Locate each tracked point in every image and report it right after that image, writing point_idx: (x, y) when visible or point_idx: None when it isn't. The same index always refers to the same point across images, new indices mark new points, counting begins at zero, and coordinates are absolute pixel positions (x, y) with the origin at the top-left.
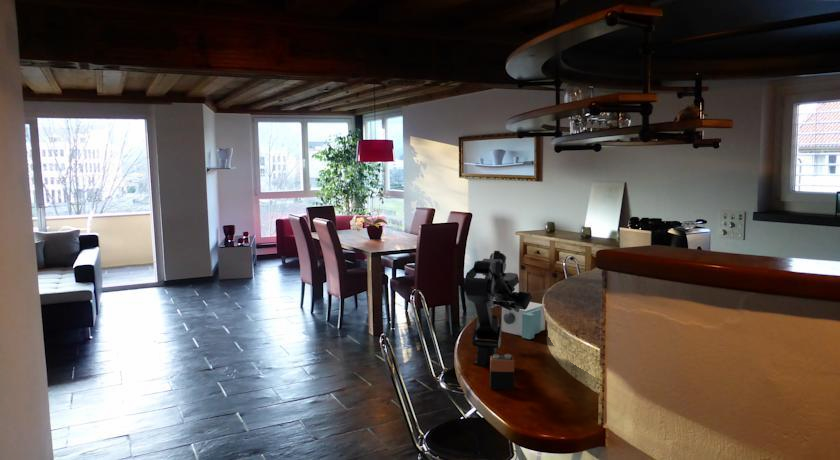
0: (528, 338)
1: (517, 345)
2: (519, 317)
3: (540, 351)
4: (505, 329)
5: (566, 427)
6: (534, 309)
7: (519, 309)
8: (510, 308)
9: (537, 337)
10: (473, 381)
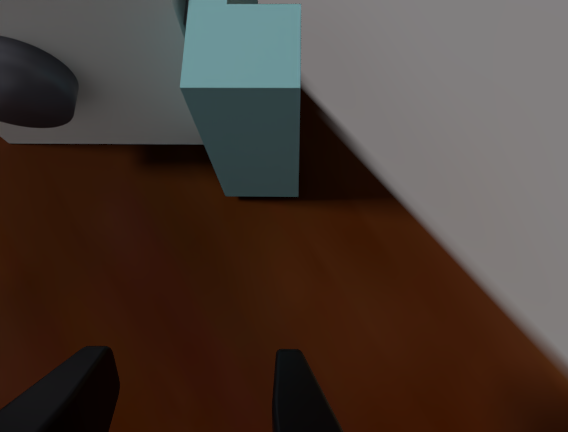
0: (286, 194)
1: None
2: (115, 56)
3: (525, 385)
4: (35, 133)
5: None
6: None
7: (306, 362)
8: (97, 423)
9: None
10: None
